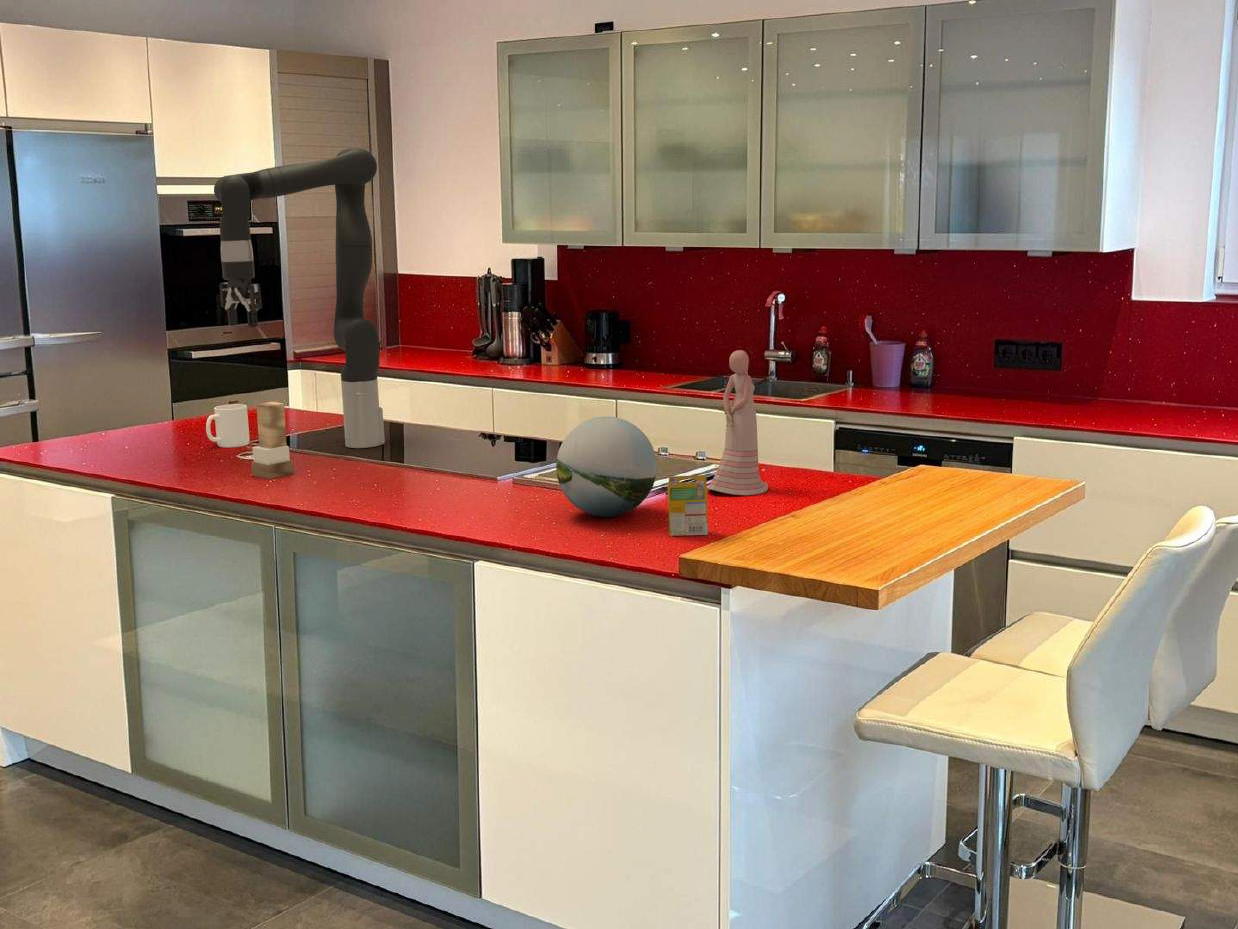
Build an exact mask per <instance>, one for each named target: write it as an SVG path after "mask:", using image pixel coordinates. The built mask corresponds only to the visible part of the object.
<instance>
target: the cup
mask: <svg viewBox="0 0 1238 929" xmlns="http://www.w3.org/2000/svg"><path fill="white" fill-rule="evenodd" d="M213 411H214V412H213V413H214V414H211V415H209V416H208V417H207V420H206V424H205V431H206V436H207V438H208V439H209V441H211V442H214V443H217V446H218V447H220V448H230V449H231V448H240V447H246V446H248V445H249V444H250V442H251V441H250V431H249V419H248V418H249V417H248V406H247V405H246V404H238V403H237V404H235V403H233V404H224V405H217V406H215V407H214V408H213ZM213 420H214V424H215V433H216V435H215V436H213V435H212V434H213V433H212V432H211V424H212V421H213Z"/></svg>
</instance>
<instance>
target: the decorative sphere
mask: <svg viewBox="0 0 1238 929" xmlns="http://www.w3.org/2000/svg"><path fill="white" fill-rule="evenodd" d="M657 463H658V462H657V457H656V452H655V450H654V447H653V445H652V443H651V441H650V439H649V438H648V437H647V435H646V434H645V433H644V432H643V431H642V430H641V429H640V428H639V427H637V425H635V424H634V423H632V422H630V421H628V420H626V419H623V418H620V417H616V416H598V417H593V418H590V419H588V420H585V421H583V422H581V423H579V424H578V425H577V426H575V427H574V428H573V429H571V431H569V433H567V435H566V436H565V438H564V439H563V440H562V442H561V445H560V447H559V449H558V452H557V457H556V462H555V464H556V465H555V467H556V478H557V482H558V484H559V488H560V489H561V491H562V493H563V494H564V497H566V498H567V500H568V501H569V502H570V503H571V504H572V505H573V506H574V507H576V508H577V509H578V510H580V511H581V512H584V513H585V514H588V515H592V516H595V517H600V518H612V517H613V518H614V517H619V516H623V515H625V514H628V513H630V512H632V511H633V510H635V509H636V508H637V507H639V506H640V505H641V504H642V503H643V502H644V501H645V500H646V499H647V497H648V496H649V494H650V493H651V491H652V489H653V487H654V483H655V482H656V477H657V470H658V464H657Z"/></svg>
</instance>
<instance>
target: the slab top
mask: <svg viewBox="0 0 1238 929" xmlns="http://www.w3.org/2000/svg"><path fill="white" fill-rule="evenodd" d="M252 457H253V462H256V463H261V464H265V465H271V464H276V463H281V462H286V461H290V460H291V459H290V457H291V456H290V447H289V446H288V445H287V446H282V447H276V448H271V449H270V448H265V447H261V446H259V445H258V446H252Z"/></svg>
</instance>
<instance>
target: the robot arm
mask: <svg viewBox="0 0 1238 929" xmlns="http://www.w3.org/2000/svg"><path fill="white" fill-rule="evenodd" d="M377 171H378V164H377V160H376V158H375V156H374V155H373V153H371V152H370V151H368V150H367V149H364V148H361V147H351V148H345V149H343V150H341V151H339V152H338V153H337V154H336V156H332V157H329V158H326V159H322V160H316V161H311V162H303V163H301V162H300V163H294V164H286V165H285V164H284V165H278V166H274V167H267V168H263V169H260V170H256V171H251V172H244V173H237V174H229V175H224V176H222V177H220V178H218V180H217V181H216V182H215V183H214V185H213V194H214V196H215V198H216V199H217V201H218V202H220V203H221V217H220V219H219V236H220V259H221V260H220V261H221V268H222V270H221V271H222V272H221V273H222V279H223V280H225V281H227V282H220V283H219V297H220V298H219V299H220V301H219V302H220V307H221V308H223V309H225V310H226V312H227V314H226V315H227V322H228V323H227V324H228V325H229V326H237V325H239V324H238V313H237V312H238V310H237V306H238V304H239V303H241V304H242V306H243V305H244V308H245V309H246V311H247V312H246V315H247V317H246V318H247V326H248V327H249V328H255V327H256V328H257V327H258V311H259V310H260V309H263V302H262V301H263V300H262V293H261V292H262V291H261V285H260V283H252V280H253V279H255V276H256V275H255V262H254V260H255V259H254V252H253V251H254V250H253V246H252V240H251V239H252V238H251V237H252V236H251V229H250V228H251V226H250V210H251V201H254V200H258V199H265V200H266V199H272V198H278V197H284V196H288V195H292V194H293V195H294V194H296V193H300V192H304V191H309V190H314V189H316V188H320V187H321V188H323V187H328V186H334V190H335V202H336V207H335V208H336V210H335V211H336V212H335V213H336V214H335V243H334V244H335V282H336V283H335V287H336V288H335V290H336V291H335V292H336V296H335V297H336V298H335V299H336V300H335V310H334V311H335V312H334V321H333V322H334V323H333V338H334V339H333V340H334V342H335V344H336V345H337V347H338V348H339V349H340V350H342V351H344V352H345V363H344V366H343V368H341V370H340V381H341V397H342V412H343V425H344V428H343V429H344V441H345V443H344V444H345V447H346V448H352V449H365V448H374V447H377V446H378V447H379V446H381V445H385V442H386V440H385V428H384V424H385V423H384V410H383V408H382V407H380V399H379V398H380V396H379V384H378V383H379V382H378V372H379V369H380V340H379V332H378V328H377V327H376V325H375V323H374V322H373V321H371V320H370V319H368V318H366V317H365V316H364V295H365V291H366V288H367V284H368V282H369V279H370V276H371V272H372V268H373V237H372V231H371V227H370V223H369V219H368V216H367V212H366V205H365V203H366V202H365V198H366V197H365V195H366V194H365V191H366V184H368V183H369V182H371V181H372V180H373V179H374V177H375V176H376V174H377ZM364 317H365V318H364Z"/></svg>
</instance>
